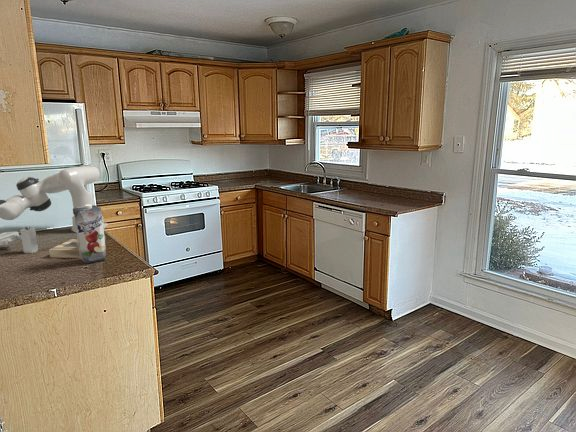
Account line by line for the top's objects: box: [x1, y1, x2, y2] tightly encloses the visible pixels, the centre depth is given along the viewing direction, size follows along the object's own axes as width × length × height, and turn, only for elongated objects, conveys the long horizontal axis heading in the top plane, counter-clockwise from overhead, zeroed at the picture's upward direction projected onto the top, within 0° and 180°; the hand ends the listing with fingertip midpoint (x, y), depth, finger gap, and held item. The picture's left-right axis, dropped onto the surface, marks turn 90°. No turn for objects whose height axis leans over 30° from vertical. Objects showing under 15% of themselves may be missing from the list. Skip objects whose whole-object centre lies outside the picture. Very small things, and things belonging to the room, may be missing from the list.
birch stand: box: [48, 238, 81, 259], centre depth 201 cm, size 18×16×8 cm
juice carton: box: [74, 204, 107, 265], centre depth 186 cm, size 9×10×27 cm
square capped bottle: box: [19, 225, 39, 254], centre depth 202 cm, size 4×4×13 cm
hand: (14, 239), depth 203 cm, fingers open, 8 cm apart
